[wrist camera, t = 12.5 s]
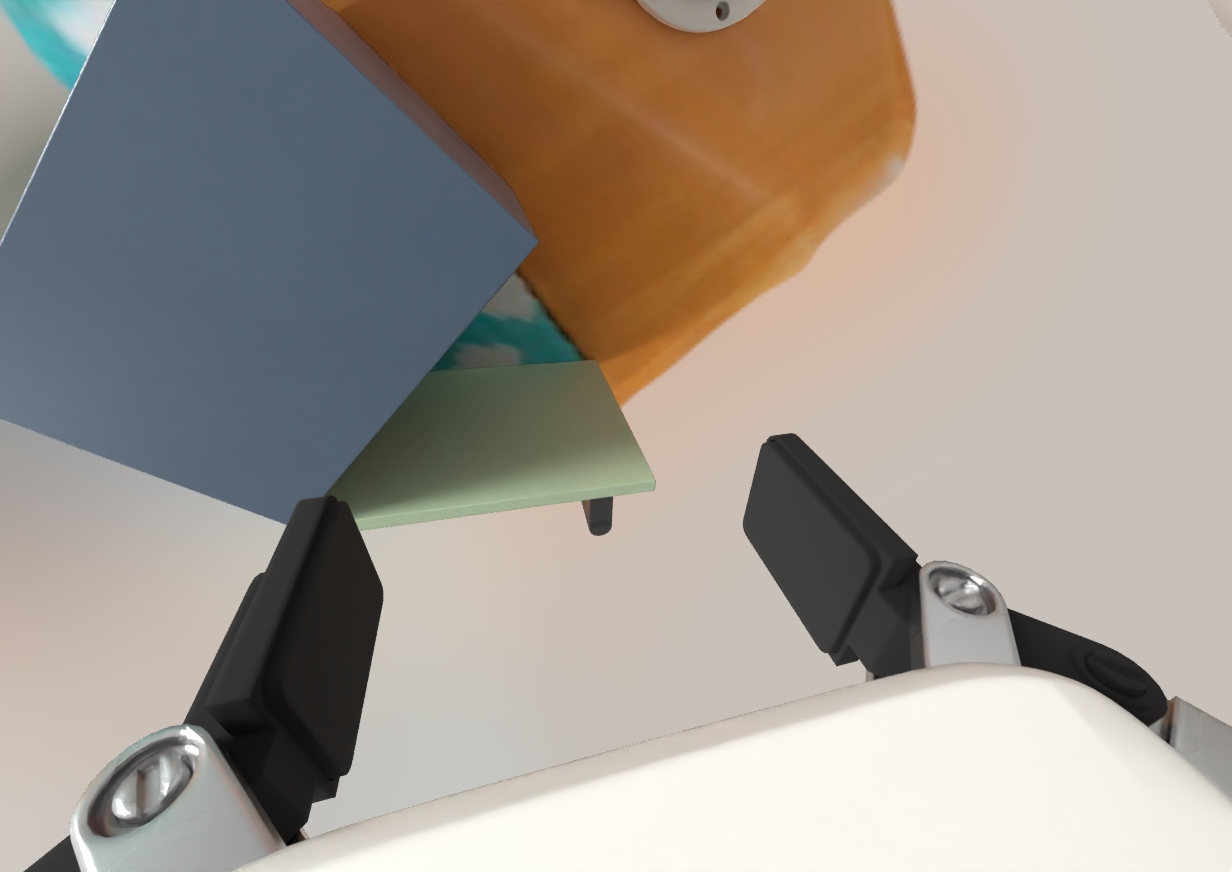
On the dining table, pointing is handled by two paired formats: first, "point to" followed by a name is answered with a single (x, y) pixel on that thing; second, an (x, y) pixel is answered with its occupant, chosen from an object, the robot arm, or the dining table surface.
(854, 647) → the robot arm
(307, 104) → the cupboard
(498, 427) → the door
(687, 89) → the dining table surface
